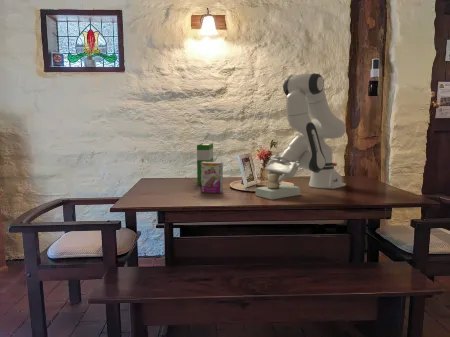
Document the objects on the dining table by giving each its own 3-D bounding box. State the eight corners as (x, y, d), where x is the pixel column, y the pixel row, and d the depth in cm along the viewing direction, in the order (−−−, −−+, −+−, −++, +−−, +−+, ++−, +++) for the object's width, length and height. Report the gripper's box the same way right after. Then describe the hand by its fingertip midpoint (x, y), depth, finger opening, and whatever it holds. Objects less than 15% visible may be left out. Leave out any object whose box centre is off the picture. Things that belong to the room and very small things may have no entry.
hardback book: (201, 180, 246) (201, 143, 243) (213, 180, 245) (213, 143, 242) (197, 184, 229) (196, 145, 225) (209, 185, 228) (209, 145, 225)
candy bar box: (200, 192, 205) (200, 162, 202) (203, 191, 209) (203, 161, 207) (220, 193, 202) (220, 163, 199) (223, 192, 206) (223, 162, 204)
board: (283, 191, 208) (284, 183, 208) (299, 194, 198) (300, 187, 198) (255, 195, 197) (255, 187, 196) (270, 199, 187) (271, 191, 187)
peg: (273, 192, 200) (274, 173, 199) (281, 194, 195) (282, 174, 194) (265, 193, 197) (265, 174, 195) (272, 195, 192) (273, 175, 190)
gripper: (304, 166, 191) (289, 187, 187) (278, 162, 208) (264, 181, 205) (298, 157, 188) (282, 179, 184) (272, 154, 205) (257, 173, 202)
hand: (272, 180), depth 195 cm, fingers open, 8 cm apart
